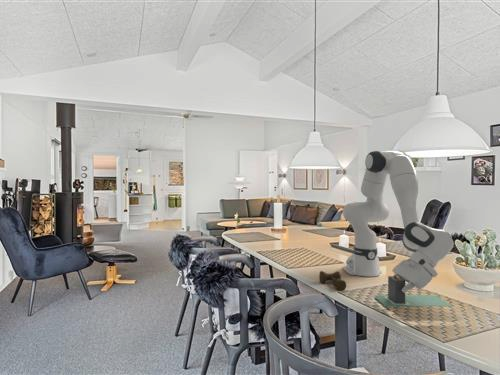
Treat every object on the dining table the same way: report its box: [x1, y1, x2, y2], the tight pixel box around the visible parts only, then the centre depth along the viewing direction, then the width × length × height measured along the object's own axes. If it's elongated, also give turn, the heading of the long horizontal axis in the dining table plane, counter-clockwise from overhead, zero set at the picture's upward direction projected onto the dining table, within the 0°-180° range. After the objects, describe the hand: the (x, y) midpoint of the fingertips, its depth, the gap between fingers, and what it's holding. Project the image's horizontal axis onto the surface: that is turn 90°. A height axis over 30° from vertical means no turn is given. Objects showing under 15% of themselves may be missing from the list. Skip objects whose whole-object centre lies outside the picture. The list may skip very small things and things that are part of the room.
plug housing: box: [387, 274, 406, 303], centre depth 138 cm, size 7×4×10 cm, turn 1°
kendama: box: [318, 270, 347, 292], centre depth 165 cm, size 6×10×20 cm
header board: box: [373, 294, 454, 311], centre depth 139 cm, size 13×26×2 cm, turn 91°
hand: (396, 287), depth 139 cm, fingers open, 8 cm apart
